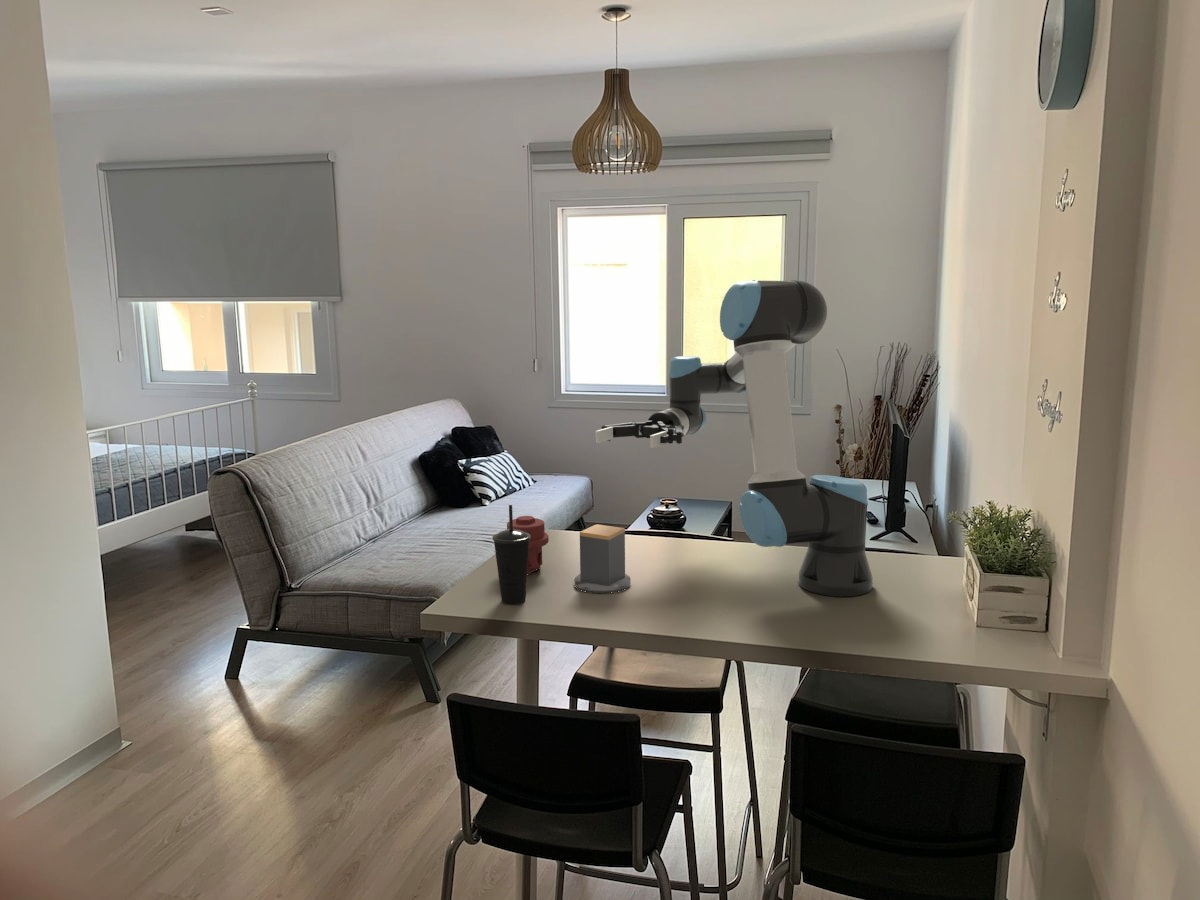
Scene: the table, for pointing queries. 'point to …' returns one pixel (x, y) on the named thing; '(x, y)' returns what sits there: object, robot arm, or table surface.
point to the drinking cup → (512, 562)
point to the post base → (597, 588)
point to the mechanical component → (532, 539)
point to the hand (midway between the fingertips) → (623, 439)
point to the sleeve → (602, 554)
